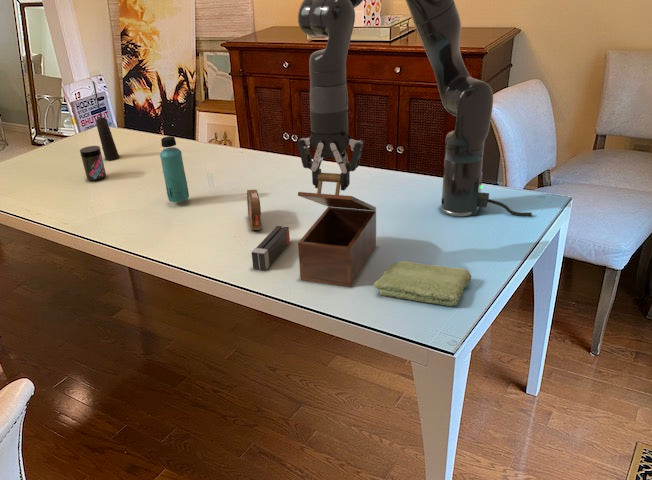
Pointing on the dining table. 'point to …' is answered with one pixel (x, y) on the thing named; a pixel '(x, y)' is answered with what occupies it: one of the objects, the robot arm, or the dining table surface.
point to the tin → (254, 209)
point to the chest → (337, 246)
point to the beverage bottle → (173, 171)
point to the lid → (335, 199)
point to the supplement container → (93, 163)
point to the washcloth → (424, 283)
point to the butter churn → (105, 136)
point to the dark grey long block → (270, 248)
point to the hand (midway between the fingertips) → (331, 187)
